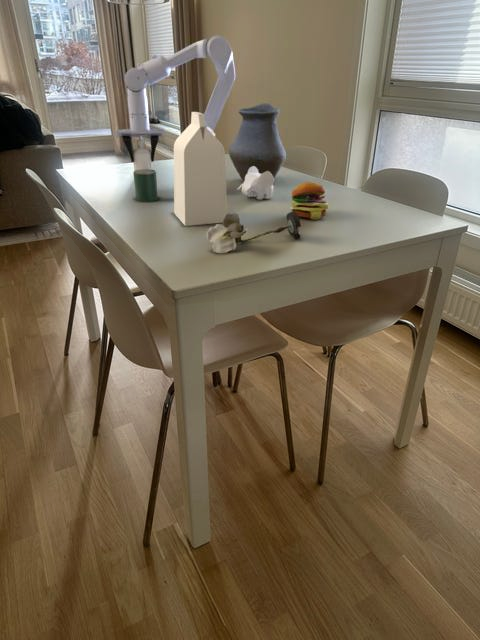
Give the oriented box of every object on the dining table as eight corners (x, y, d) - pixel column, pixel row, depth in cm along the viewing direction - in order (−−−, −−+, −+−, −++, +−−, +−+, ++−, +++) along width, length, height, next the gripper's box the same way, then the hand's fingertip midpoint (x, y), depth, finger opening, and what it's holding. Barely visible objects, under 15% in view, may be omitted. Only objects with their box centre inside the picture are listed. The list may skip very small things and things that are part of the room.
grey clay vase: (219, 184, 158) (219, 105, 146) (239, 172, 176) (240, 101, 164) (277, 189, 153) (281, 108, 141) (291, 176, 171) (296, 103, 159)
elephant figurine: (232, 196, 144) (233, 167, 139) (265, 192, 149) (266, 164, 144) (247, 203, 136) (248, 173, 132) (281, 199, 142) (282, 170, 137)
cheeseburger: (299, 221, 121) (298, 182, 118) (285, 219, 131) (283, 183, 128) (333, 218, 123) (333, 180, 121) (317, 217, 133) (316, 181, 131)
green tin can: (161, 198, 140) (160, 170, 136) (149, 202, 135) (147, 174, 131) (144, 195, 143) (142, 168, 139) (131, 200, 138) (128, 171, 134)
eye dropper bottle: (146, 177, 142) (143, 136, 136) (132, 175, 144) (128, 135, 138) (155, 175, 145) (152, 135, 139) (140, 173, 147) (137, 133, 142)
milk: (174, 213, 126) (168, 111, 114) (213, 210, 130) (212, 110, 117) (185, 226, 116) (180, 115, 104) (227, 222, 120) (227, 114, 107)
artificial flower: (306, 248, 107) (310, 212, 100) (214, 269, 102) (212, 232, 95) (291, 228, 113) (294, 192, 106) (204, 246, 108) (201, 210, 101)
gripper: (162, 112, 141) (165, 158, 147) (114, 112, 138) (119, 159, 145) (163, 115, 135) (166, 162, 141) (113, 115, 132) (118, 163, 139)
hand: (142, 161), depth 143 cm, fingers closed on eye dropper bottle, 5 cm apart
